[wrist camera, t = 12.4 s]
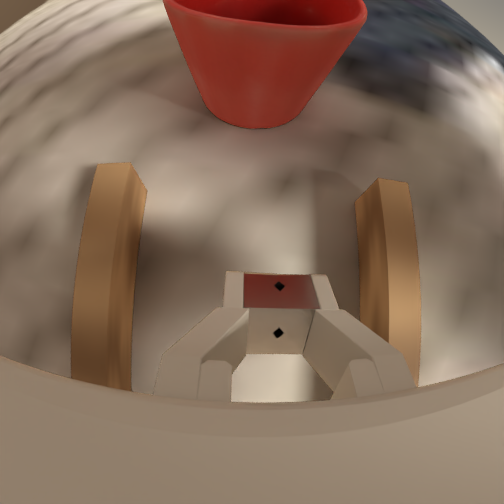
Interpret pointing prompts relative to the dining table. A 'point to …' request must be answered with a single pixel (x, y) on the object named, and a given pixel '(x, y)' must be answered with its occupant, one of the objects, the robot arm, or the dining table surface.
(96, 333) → the brown wooden u-shaped frame
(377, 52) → the dining table surface
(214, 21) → the flower pot
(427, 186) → the dining table surface
